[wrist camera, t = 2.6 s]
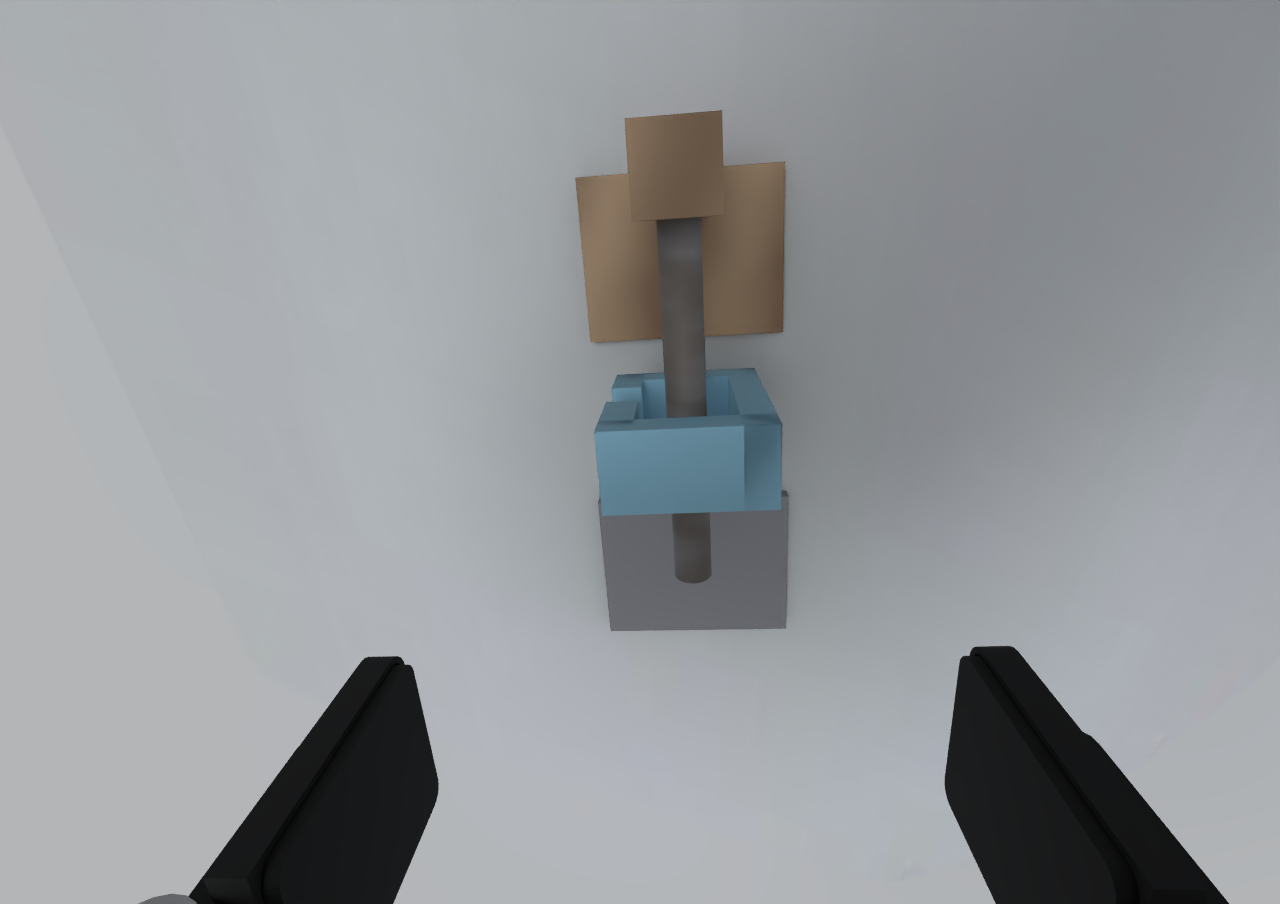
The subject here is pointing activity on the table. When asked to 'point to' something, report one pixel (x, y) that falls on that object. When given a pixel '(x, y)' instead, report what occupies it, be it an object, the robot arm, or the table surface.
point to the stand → (683, 264)
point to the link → (689, 448)
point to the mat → (729, 599)
